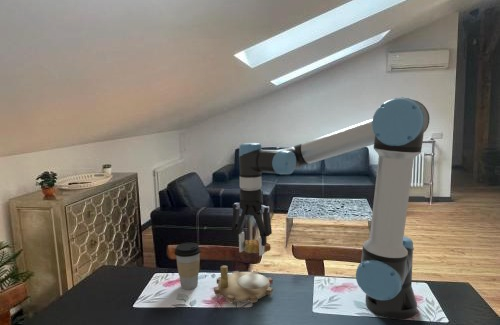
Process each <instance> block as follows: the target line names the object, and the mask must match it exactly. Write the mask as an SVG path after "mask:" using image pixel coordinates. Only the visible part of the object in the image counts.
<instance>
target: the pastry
mask: <svg viewBox="0 0 500 325" xmlns="http://www.w3.org/2000/svg"><path fill="white" fill-rule="evenodd" d="M244 243H245V250H243V251H244V252H245V253H247V254H252V253H253V254H259V239H249V240H248V239H244ZM270 251H271V243H269V242H267V244H266V245H265V246H264V254H265V253H267V252H270Z"/></svg>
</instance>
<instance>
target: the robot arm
mask: <svg viewBox="0 0 500 325" xmlns="http://www.w3.org/2000/svg"><path fill="white" fill-rule="evenodd" d="M430 120H431V118H430V113H429V110H428V108H427V107H426V106H425V105H424V104H423V103H422V102H420V101H419V100H415V99H411V98H409V97H408V98H407V97H403V96H402V97H395V98H391V99H389V100H386V101H384V102H383V103H381V105H379V107H377V109H376V110H375V112H374V114H373V116H372V119H369V120H365V121H363V122H360V123H357V124H354V125H351V126H349V127H345V128H343V129H339V130H337V131H334V132H332V133H328V134H325V135H323V136H320V137H319V136H318V137H316V138H314V139H311V140H309V141H305V142H302V143H299V144H297V145H294V146H290V147H286V148H281V149H263V148H262V145H261V144H262V143H259V142H244V143H241V144H239V149H238V150H239V152H238V163H239V164H238V165H239V188H240V189H239V199H240V201H239V202H234V203H233V204H232V219H231V220H232V221H231V222H232V223H231V231H232V232H235V233H236V241H237V243H238V252H239V253H242V252H243V251H244V250H245V231H244V227H245V224H246V221H247V218H248V216H253V218H254V220H255V223H256V225H257V228H258V231H259V234H260V236H259V237H258V241H259V253H258V256H259V257H261V256H263V255H265V253H264V246H265V245H266V244H267V243H268V242H267V241H268V240H267V238H268V237H269V236H271V235H272V234H273V231H272V222H271V216H270V212H271V206H269V205H268V206H266V205H264V204H263V201H262V199H263V193H262V192H263V190H262V186H263V185H262V183H263V182H262V181H263V180H262V173H267V174H277V175H291V174H292V173H293V172H294V171H295V170H296V169H298V168H301V167H303V166H308V165H310V164H314V163H316V162H320V161H323V160H327V159H330V158H334V157H336V156H340V155H344V154H347V153H350V152H353V151H357V150H360V149H363V148H367V147H369V146H373V150H374V151H375V152H376V153H377V155H378V161H377V166H376V167H377V169H376V179H375V186H374V197H373V204H372V215H371V222H370V229H369V230H370V231H369V232H370V233H369V237H368V239H367V240H365V241H363V243H362V244H363V245H362V251H361V260H360V262H359V264H358V266H357V268H356V271H355V280H356V283H357V285H358V287H359V288H360V289H361V291H362V292H363V293H364V294H365V305H366V306H367V308H368V309H369V310H370V311H371V312H373V313H375V314H377V315H380V316H382V317H384V318H388V319H397V320H398V319H399V320H400V319H401V320H402V319H403V320H404V319H409V318H412V317H414V316H416V315H417V309H418V304H417V299H416V296H415V293H414V290H413V286H412V283H413V282H412V280H413V258H414V255H413V254H414V250H415V249H414V242H413V240H412V239H411V238H409V237H408V236H405V228H406V221H407V220H406V219H407V214H408V213H407V211H408V205H409V197H410V192H411V191H410V190H411V189H410V188H411V184H412V175H413V167H414V159H415V158H416V157H417V156H419V155H420V154H421V153H422V148H423V147H422V146H423V140H424V135H425V134H424V133H425V132H426V131H427V129H428V128H429V124H430ZM240 210H242V211H241V215H240ZM261 211H262V213H263V214H262V213H261ZM262 215H263V218H262ZM239 218H240V219H239Z"/></svg>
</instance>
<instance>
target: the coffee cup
mask: <svg viewBox="0 0 500 325" xmlns="http://www.w3.org/2000/svg"><path fill="white" fill-rule="evenodd" d="M201 252H202V249H201V247H200V246H199V244H198V243H196V242H183V243H180V244H178V245H177V246H175V249H174V251H173V253H174V255H175V256H176V266H177V272H178V276H179V282H180V287H181V289H183V290H188V291H190V290H194V289H196V288H197V287H198V284H199V273H200V272H199V271H200V262H201V261H200V260H201V258H200V253H201Z"/></svg>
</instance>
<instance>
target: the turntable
mask: <svg viewBox="0 0 500 325" xmlns="http://www.w3.org/2000/svg"><path fill="white" fill-rule="evenodd" d="M228 272H229V271H228V265H221V266H220V276H219V277H217V278H216V284H217V285H218V286H215V287H213V292H214V295H215V296H216V295H221V296H222V297H223V298H225V299H226V302H228V303H230V304H231V303H234V302H250V303H251V304H253V303H257V302H258V300H259V299H262V298H263V297H265V296H266V295H268V296H272V294H273V293H274V288H273V287H271V285H273V284H274V280H273V277H271V276H269V277H266V276H265V275H262V274H261V273H260V272H259V271H257V270H253V271H239V270H236V271H235V270H234V271H232V272H231V273H229V274H228Z"/></svg>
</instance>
